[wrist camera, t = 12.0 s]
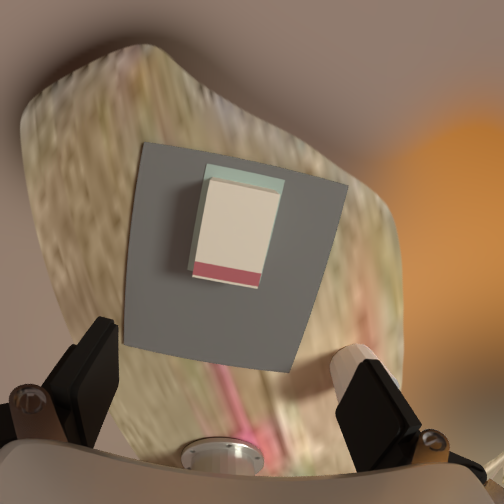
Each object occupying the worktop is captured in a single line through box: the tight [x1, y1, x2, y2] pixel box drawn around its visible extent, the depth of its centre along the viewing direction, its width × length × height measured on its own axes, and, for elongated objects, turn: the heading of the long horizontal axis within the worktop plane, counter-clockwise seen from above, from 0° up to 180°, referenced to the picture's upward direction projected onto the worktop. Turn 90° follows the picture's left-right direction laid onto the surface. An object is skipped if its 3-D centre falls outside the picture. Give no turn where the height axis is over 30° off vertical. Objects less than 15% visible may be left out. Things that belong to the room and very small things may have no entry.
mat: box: [124, 142, 348, 373], centre depth 29 cm, size 22×19×1 cm
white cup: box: [330, 344, 400, 404], centre depth 31 cm, size 7×7×7 cm
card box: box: [192, 177, 280, 289], centre depth 26 cm, size 8×6×4 cm
